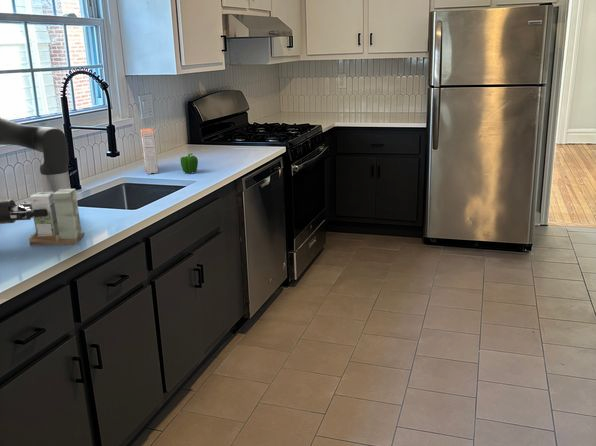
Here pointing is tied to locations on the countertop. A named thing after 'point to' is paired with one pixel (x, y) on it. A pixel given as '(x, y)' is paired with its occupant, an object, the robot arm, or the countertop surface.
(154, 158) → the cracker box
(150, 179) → the countertop surface
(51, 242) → the wooden tray with block
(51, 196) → the syrup box
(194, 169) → the bell pepper
